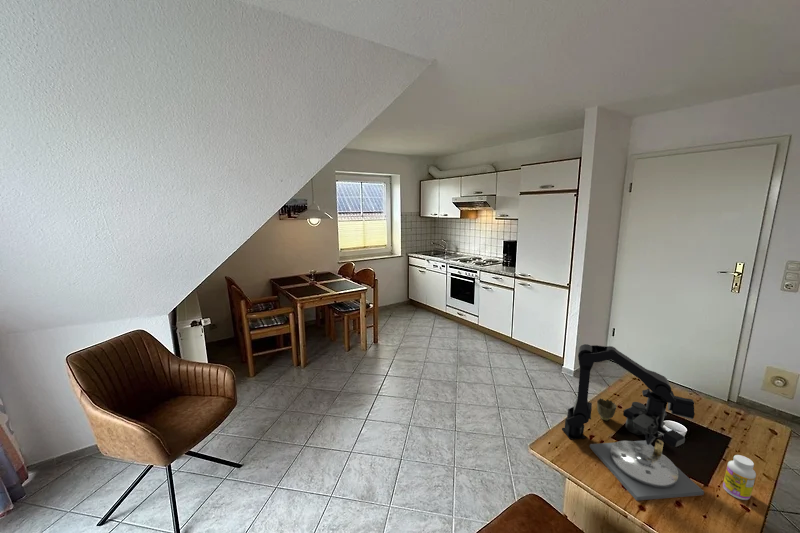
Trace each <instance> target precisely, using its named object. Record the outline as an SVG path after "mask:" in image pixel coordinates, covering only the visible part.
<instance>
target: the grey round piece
mask: <svg viewBox="0 0 800 533" xmlns="http://www.w3.org/2000/svg"><path fill="white" fill-rule="evenodd" d="M613 443H614V442H613ZM664 444H665V443H664V441H663V440H661V439H655V440H654V446H653V447H654V449H653V448H651V447H649V446H647V445H644V444H641V443H638V442H633V440H619V441H616V443H614V444H613V445H612V447H611V451H610V456H611V459H612V461H613V463H614V464H615V466H616V467H617V468H618V469H619V470H620V471H622V472H623V473H624V474H626V475H627V476H628V477H630V478H632V479H634V480H635V481H637V482H640V483H642V484H645V485H648V486H651V487H656V488H670V487H672V486H674V485H675V484H676V483H677V480H678V470H677V468H678V467H677V466H676V465H675V464H674V462H673V461H672V460H671V459H670V458H668V457H667V456H666V455H665V454H663V449H664V448H663V447H664ZM676 467H677V468H676Z"/></svg>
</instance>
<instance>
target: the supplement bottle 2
mask: <svg viewBox="0 0 800 533" xmlns="http://www.w3.org/2000/svg"><path fill="white" fill-rule="evenodd" d="M732 459H733V460H729V461H728V462H727V466H726V470H725V475H724V477H723V482H722V488H723V489H724V490H725V492H726V493H727V494H729V495H731V496H732V497H734V498H735V499H738V500H743V501H748V500H750V498H751V496H752V493H753V488H754V484H755V481H756V477H757V473H756V471H755V470H754V466H755V463H754V462H753V460H752V459H750V458H748V457H746V456H744V455H741V454H735V455H734V456H733V458H732Z"/></svg>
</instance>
